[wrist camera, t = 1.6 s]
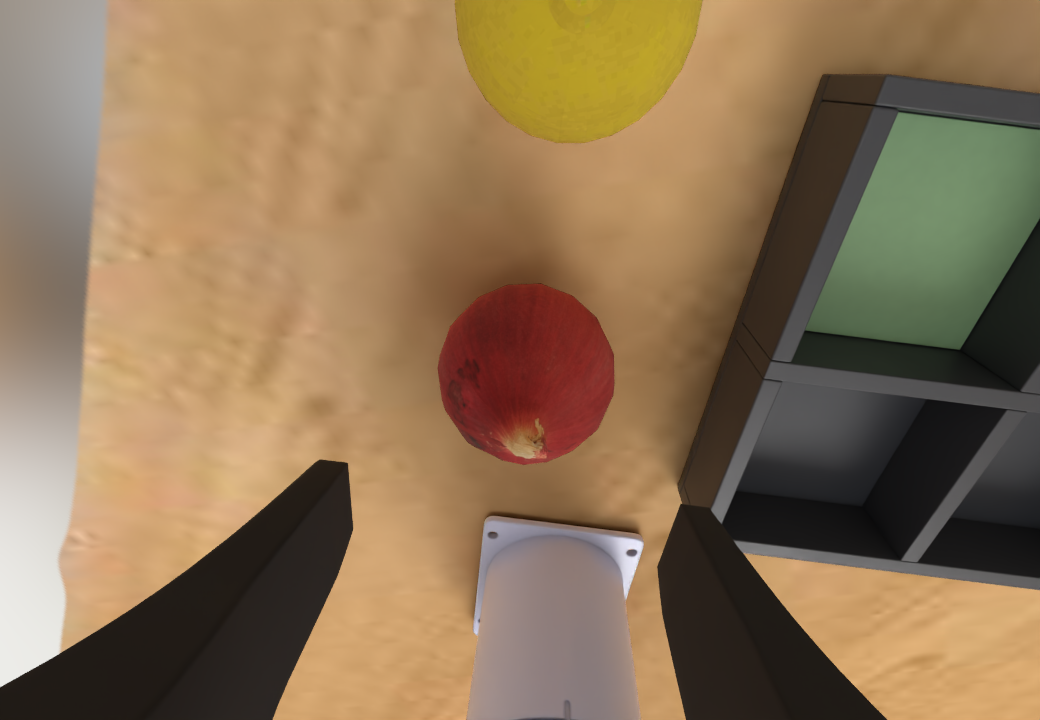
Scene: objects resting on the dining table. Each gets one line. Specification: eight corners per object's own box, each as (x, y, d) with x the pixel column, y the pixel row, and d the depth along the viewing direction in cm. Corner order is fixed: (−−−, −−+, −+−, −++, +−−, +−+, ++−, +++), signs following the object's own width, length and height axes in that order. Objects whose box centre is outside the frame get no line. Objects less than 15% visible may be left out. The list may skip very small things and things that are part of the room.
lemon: (656, -116, 14) (762, -311, 7) (668, 109, 16) (752, 134, 9) (459, -63, 15) (372, -190, 8) (500, 143, 17) (463, 191, 10)
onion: (501, 404, 22) (476, 554, 15) (431, 294, 20) (364, 411, 13) (626, 354, 21) (662, 496, 14) (566, 228, 18) (573, 321, 11)
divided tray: (1036, 532, 24) (1106, 599, 21) (676, 487, 24) (694, 547, 21) (1374, 143, 16) (1573, 160, 13) (822, 73, 16) (887, 73, 13)
